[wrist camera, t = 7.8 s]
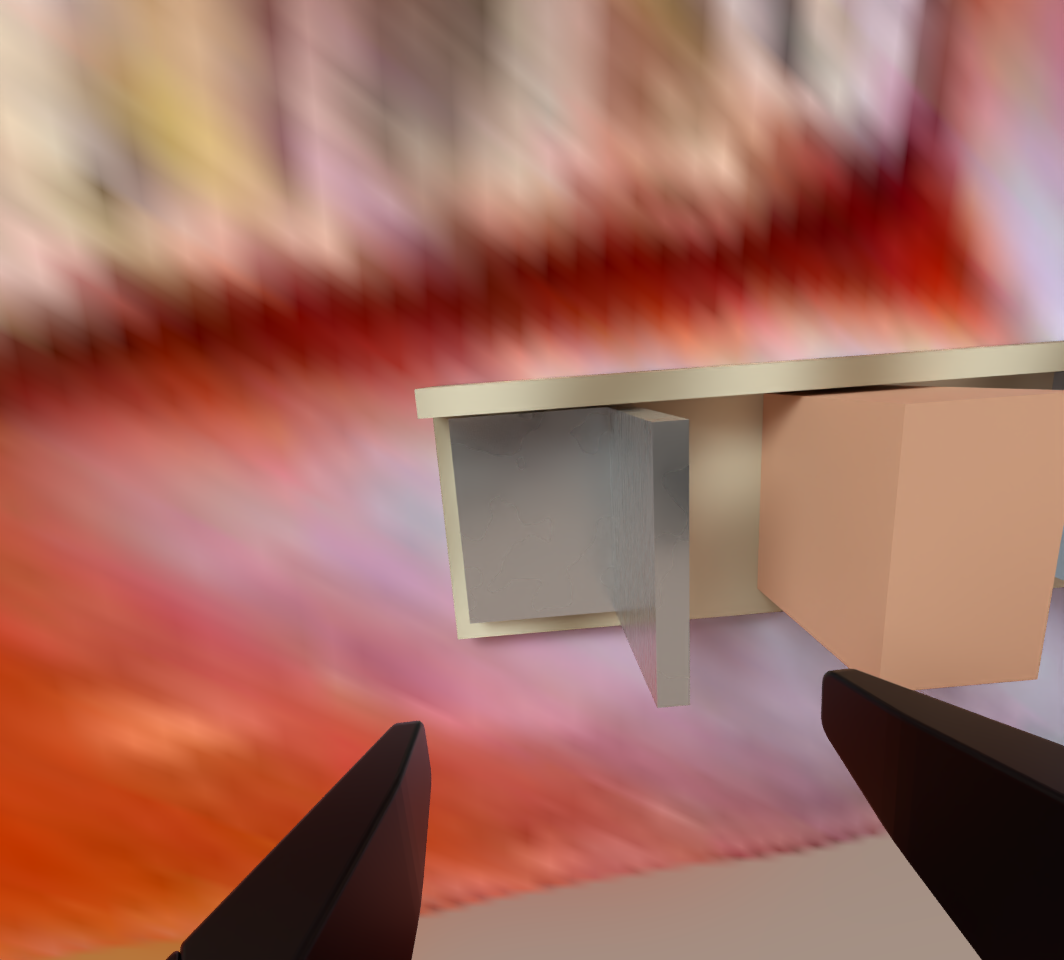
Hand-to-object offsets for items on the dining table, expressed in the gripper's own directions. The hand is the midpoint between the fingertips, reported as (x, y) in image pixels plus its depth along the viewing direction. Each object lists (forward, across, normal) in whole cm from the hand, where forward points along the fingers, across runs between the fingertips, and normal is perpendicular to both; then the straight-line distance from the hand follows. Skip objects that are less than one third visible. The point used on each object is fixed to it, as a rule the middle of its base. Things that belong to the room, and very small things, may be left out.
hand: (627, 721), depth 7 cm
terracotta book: (+10, -9, 0) cm, 13 cm away
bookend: (+9, 0, -1) cm, 9 cm away
